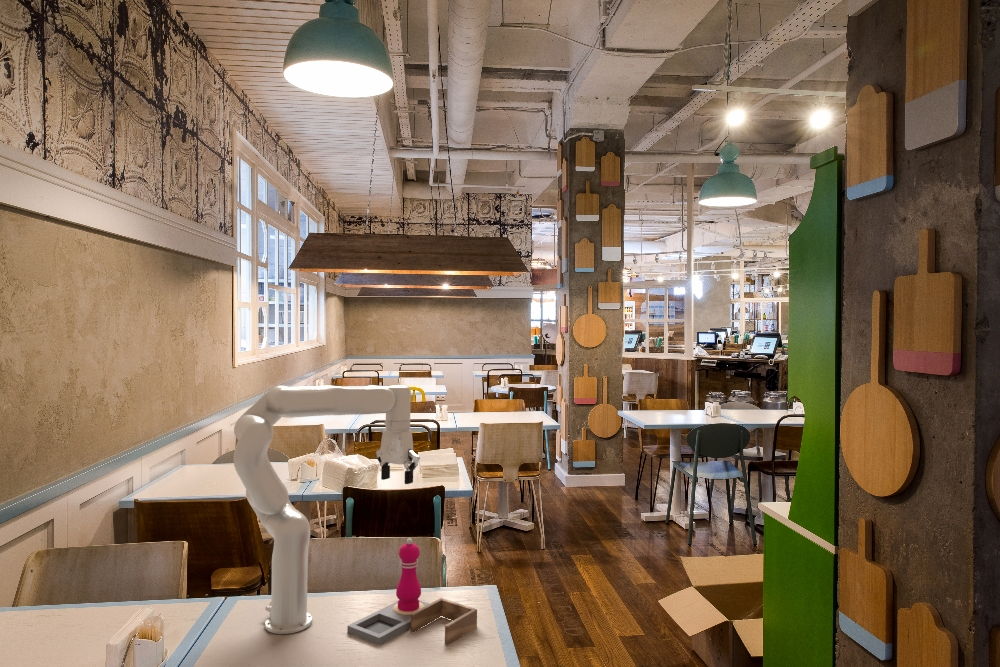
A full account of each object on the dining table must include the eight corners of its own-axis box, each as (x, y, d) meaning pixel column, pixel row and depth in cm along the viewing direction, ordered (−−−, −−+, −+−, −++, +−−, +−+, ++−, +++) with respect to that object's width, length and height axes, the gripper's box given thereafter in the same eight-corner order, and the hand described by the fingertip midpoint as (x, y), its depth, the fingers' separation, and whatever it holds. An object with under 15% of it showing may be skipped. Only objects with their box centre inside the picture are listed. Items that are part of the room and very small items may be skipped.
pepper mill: (408, 614, 181) (409, 544, 181) (390, 608, 185) (391, 538, 185) (426, 606, 187) (427, 537, 187) (408, 600, 191) (409, 533, 191)
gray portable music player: (347, 632, 175) (347, 624, 175) (407, 603, 194) (407, 595, 194) (379, 645, 168) (379, 636, 168) (437, 613, 188) (438, 605, 188)
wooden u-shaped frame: (410, 631, 176) (410, 613, 176) (440, 615, 186) (441, 597, 186) (447, 645, 168) (447, 626, 168) (476, 627, 179) (477, 609, 179)
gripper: (369, 424, 199) (368, 479, 199) (410, 429, 189) (409, 487, 189) (386, 421, 205) (385, 475, 205) (427, 426, 196) (426, 483, 196)
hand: (397, 481), depth 197 cm, fingers open, 9 cm apart
